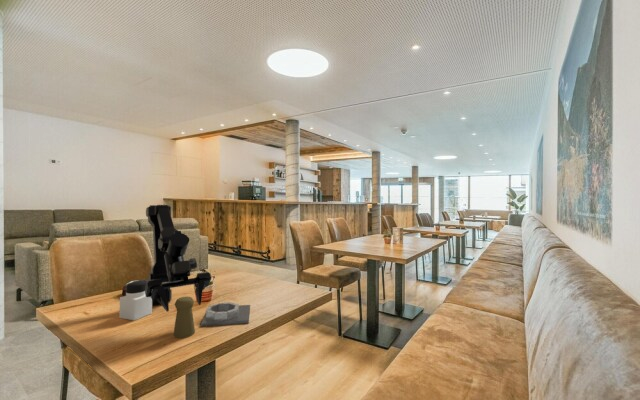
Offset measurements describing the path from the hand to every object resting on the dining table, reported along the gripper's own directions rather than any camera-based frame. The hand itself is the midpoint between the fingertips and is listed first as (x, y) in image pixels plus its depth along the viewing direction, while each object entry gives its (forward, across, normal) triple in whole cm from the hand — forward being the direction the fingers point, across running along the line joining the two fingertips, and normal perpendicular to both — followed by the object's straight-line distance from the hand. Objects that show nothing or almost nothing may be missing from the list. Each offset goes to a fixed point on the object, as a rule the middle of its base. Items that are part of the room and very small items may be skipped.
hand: (184, 307), depth 92 cm
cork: (+6, 0, +6) cm, 8 cm away
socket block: (+2, +16, +9) cm, 18 cm away
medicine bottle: (-12, -10, +24) cm, 28 cm away
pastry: (-32, -5, +44) cm, 54 cm away
